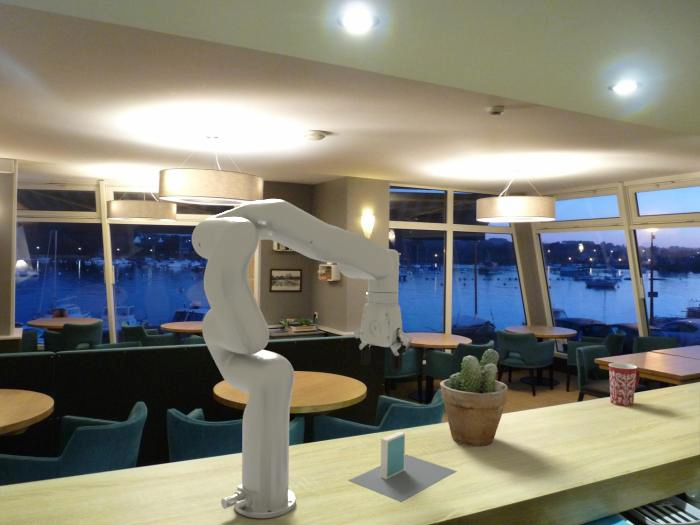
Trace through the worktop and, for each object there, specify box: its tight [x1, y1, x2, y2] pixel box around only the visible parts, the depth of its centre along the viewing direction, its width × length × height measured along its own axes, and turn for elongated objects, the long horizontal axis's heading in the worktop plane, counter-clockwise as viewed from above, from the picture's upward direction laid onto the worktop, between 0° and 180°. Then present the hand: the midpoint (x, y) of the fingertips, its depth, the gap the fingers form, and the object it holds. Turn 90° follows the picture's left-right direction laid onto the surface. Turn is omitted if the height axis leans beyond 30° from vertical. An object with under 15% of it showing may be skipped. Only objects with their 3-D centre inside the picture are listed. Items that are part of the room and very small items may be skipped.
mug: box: [608, 362, 640, 407], centre depth 193 cm, size 13×9×14 cm
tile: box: [380, 431, 406, 479], centre depth 128 cm, size 7×2×9 cm, turn 138°
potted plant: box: [439, 348, 509, 447], centre depth 153 cm, size 18×19×25 cm
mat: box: [348, 454, 457, 503], centre depth 127 cm, size 22×15×1 cm
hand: (380, 368), depth 135 cm, fingers open, 9 cm apart
